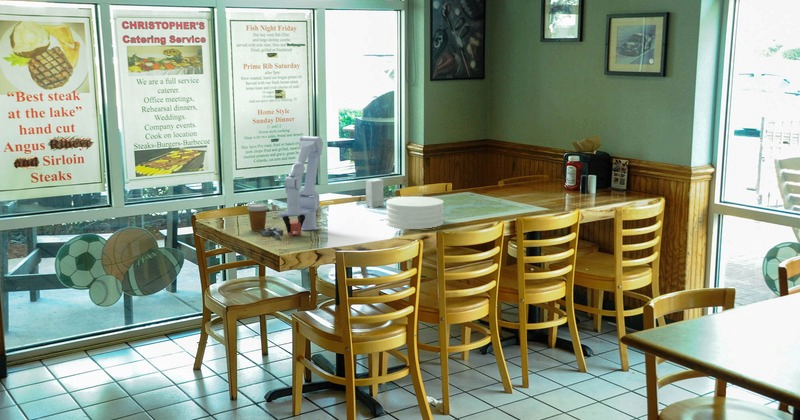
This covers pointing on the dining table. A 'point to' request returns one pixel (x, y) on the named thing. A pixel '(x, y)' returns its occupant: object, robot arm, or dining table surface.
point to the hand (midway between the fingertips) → (294, 231)
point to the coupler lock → (295, 228)
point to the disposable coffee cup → (257, 216)
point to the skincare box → (374, 193)
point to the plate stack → (414, 212)
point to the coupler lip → (272, 232)
